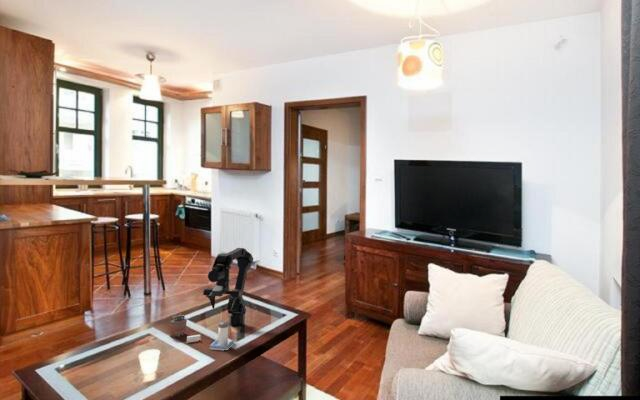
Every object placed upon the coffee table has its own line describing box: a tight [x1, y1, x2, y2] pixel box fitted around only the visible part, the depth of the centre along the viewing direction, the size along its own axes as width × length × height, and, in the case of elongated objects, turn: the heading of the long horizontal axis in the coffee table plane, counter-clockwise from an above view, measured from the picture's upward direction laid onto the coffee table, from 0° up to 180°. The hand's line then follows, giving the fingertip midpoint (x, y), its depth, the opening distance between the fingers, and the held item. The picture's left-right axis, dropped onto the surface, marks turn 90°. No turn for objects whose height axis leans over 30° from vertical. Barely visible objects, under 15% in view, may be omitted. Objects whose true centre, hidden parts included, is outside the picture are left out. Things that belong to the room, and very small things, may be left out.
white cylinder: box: [217, 321, 229, 346], centre depth 165 cm, size 4×4×10 cm
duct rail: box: [186, 334, 202, 343], centre depth 169 cm, size 6×2×2 cm, turn 122°
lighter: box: [169, 314, 188, 338], centre depth 177 cm, size 8×3×10 cm, turn 134°
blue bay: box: [209, 337, 235, 351], centre depth 165 cm, size 9×8×2 cm
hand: (222, 309), depth 179 cm, fingers open, 9 cm apart
